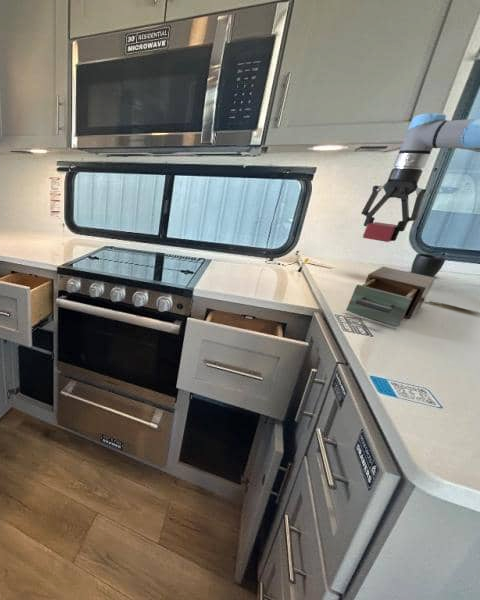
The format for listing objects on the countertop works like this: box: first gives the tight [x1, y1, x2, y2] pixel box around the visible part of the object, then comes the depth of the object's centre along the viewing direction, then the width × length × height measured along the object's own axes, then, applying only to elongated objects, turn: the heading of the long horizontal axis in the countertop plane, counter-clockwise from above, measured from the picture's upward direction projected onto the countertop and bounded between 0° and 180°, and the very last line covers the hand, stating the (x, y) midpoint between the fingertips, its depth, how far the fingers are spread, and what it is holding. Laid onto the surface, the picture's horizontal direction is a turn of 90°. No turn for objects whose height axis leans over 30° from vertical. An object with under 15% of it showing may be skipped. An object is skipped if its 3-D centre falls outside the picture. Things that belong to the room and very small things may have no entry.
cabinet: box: [364, 266, 437, 320], centre depth 100 cm, size 17×13×10 cm
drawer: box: [345, 278, 419, 328], centre depth 91 cm, size 21×11×8 cm, turn 128°
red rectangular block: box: [362, 221, 398, 243], centre depth 115 cm, size 7×9×5 cm
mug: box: [410, 253, 447, 278], centre depth 130 cm, size 8×12×10 cm
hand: (378, 238), depth 116 cm, fingers closed on red rectangular block, 7 cm apart
